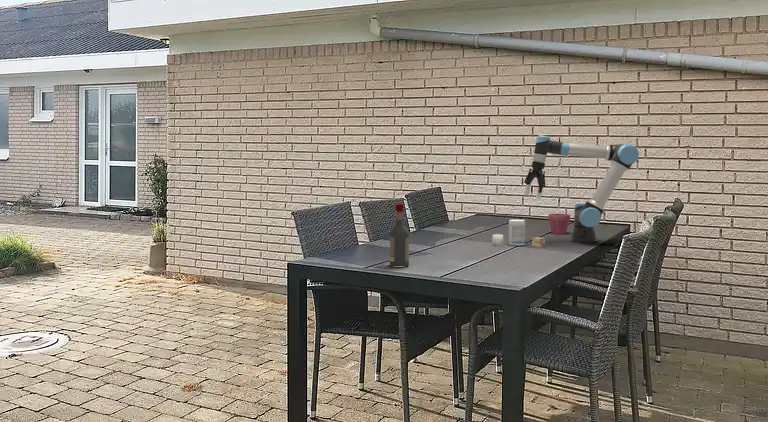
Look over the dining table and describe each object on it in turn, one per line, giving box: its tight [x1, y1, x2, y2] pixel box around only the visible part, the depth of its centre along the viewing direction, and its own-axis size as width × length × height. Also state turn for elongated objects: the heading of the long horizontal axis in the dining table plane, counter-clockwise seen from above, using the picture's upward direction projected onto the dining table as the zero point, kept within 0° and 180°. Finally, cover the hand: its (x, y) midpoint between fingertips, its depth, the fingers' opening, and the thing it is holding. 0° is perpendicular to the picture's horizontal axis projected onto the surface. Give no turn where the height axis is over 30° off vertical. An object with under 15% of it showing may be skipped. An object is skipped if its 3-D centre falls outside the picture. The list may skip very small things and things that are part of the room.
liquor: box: [389, 203, 410, 267], centre depth 345 cm, size 9×9×30 cm
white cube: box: [492, 233, 504, 247], centre depth 420 cm, size 6×6×6 cm
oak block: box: [531, 236, 546, 248], centre depth 415 cm, size 5×5×5 cm
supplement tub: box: [508, 219, 526, 247], centre depth 420 cm, size 10×10×15 cm
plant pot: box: [547, 213, 571, 235], centre depth 474 cm, size 14×14×13 cm
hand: (532, 196), depth 425 cm, fingers open, 13 cm apart
